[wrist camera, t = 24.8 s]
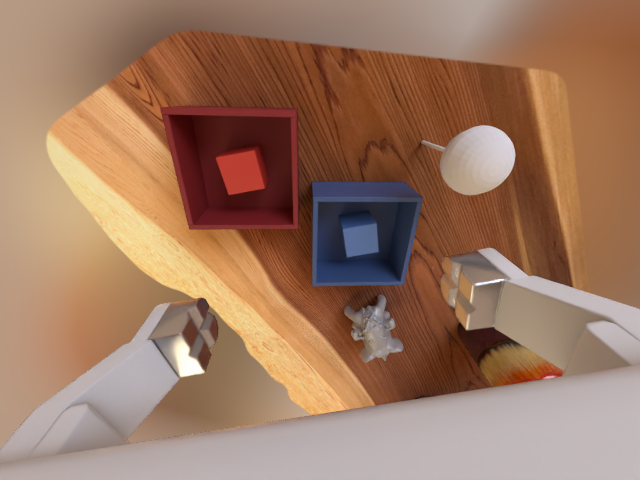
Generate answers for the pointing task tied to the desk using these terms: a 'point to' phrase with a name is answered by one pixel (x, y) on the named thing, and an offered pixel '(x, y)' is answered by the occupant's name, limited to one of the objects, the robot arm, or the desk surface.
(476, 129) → the lollipop
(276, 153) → the red bin
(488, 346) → the vase
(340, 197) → the blue bin
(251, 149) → the red block
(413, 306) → the desk surface
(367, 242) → the blue block
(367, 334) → the grey animal figurine
